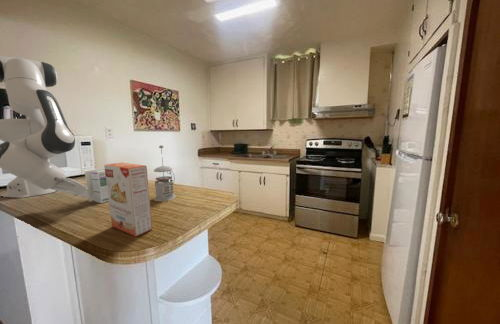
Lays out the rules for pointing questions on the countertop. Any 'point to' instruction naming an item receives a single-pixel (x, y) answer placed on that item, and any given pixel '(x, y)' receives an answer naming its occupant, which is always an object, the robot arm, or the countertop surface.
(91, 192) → the white topped bridge
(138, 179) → the cracker box
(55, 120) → the robot arm
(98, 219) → the countertop surface
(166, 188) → the french press
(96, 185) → the syrup box
